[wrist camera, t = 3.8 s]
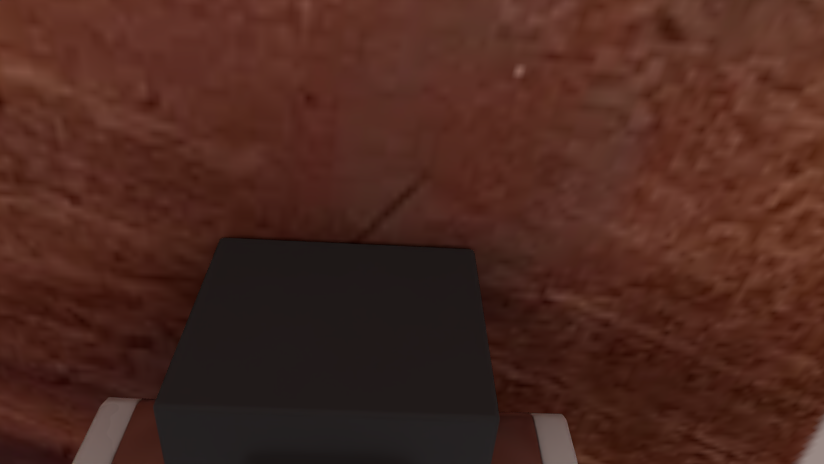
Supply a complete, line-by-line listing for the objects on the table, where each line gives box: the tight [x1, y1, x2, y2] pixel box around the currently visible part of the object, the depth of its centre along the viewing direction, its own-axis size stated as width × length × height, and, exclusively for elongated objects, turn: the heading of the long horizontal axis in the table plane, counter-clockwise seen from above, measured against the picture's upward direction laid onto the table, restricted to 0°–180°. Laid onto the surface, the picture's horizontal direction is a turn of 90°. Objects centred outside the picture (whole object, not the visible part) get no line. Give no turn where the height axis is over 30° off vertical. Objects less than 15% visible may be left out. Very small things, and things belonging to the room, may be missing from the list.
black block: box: [153, 238, 500, 464], centre depth 10 cm, size 4×5×4 cm
